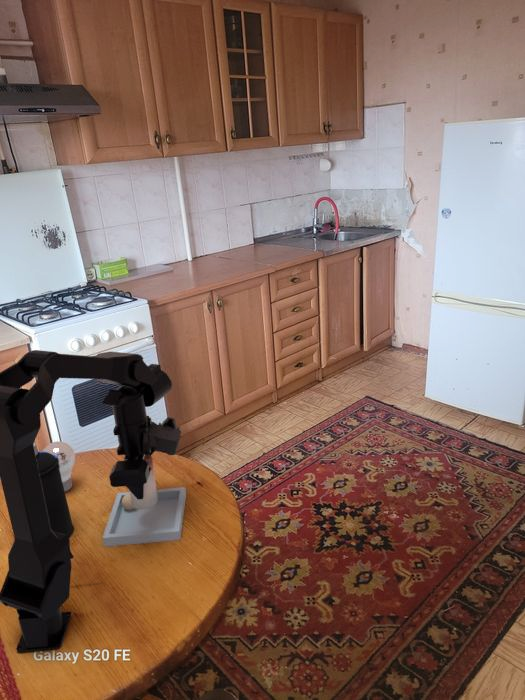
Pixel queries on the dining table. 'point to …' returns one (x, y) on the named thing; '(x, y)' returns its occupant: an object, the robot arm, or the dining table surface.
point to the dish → (147, 520)
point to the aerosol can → (54, 493)
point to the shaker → (147, 489)
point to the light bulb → (63, 461)
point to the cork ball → (127, 502)
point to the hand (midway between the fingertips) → (142, 490)
